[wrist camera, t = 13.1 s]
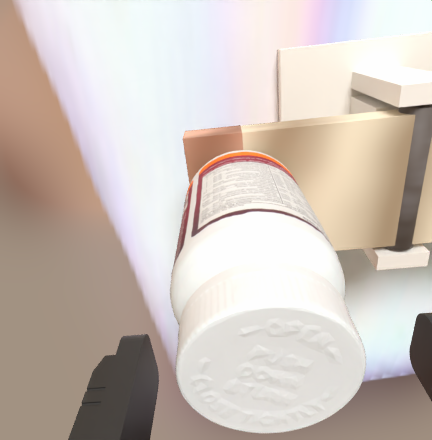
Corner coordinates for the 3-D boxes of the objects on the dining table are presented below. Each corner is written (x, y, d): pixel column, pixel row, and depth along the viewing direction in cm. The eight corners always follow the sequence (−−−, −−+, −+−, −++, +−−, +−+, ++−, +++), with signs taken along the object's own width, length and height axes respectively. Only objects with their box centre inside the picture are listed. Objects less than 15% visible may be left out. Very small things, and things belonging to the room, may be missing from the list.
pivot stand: (471, 26, 22) (583, 24, 15) (430, 223, 28) (496, 281, 22) (277, 49, 22) (304, 56, 16) (281, 237, 29) (301, 298, 22)
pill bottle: (244, 265, 21) (270, 469, 11) (163, 206, 20) (109, 388, 10) (321, 195, 19) (436, 371, 9) (238, 120, 17) (271, 241, 7)
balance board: (650, 76, 18) (692, 80, 16) (587, 217, 22) (616, 232, 20) (184, 125, 19) (181, 134, 18) (202, 251, 23) (201, 268, 21)
